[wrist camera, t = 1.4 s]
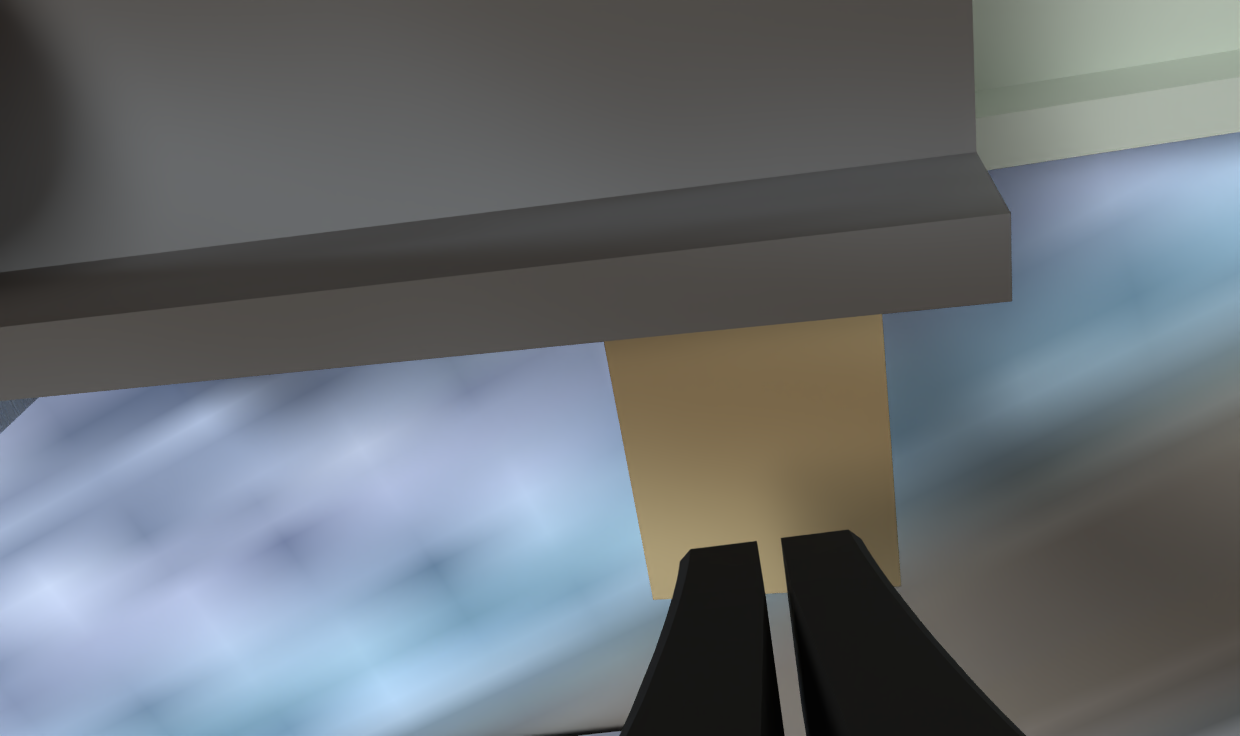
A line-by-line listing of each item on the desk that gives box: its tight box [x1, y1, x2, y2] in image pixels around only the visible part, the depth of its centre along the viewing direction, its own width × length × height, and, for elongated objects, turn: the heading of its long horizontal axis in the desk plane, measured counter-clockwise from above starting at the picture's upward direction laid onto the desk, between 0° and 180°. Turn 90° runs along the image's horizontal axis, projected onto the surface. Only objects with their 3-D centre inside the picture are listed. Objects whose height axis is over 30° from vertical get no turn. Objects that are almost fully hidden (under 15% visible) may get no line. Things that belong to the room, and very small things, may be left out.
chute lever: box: [0, 0, 1012, 600], centre depth 11 cm, size 12×14×3 cm
